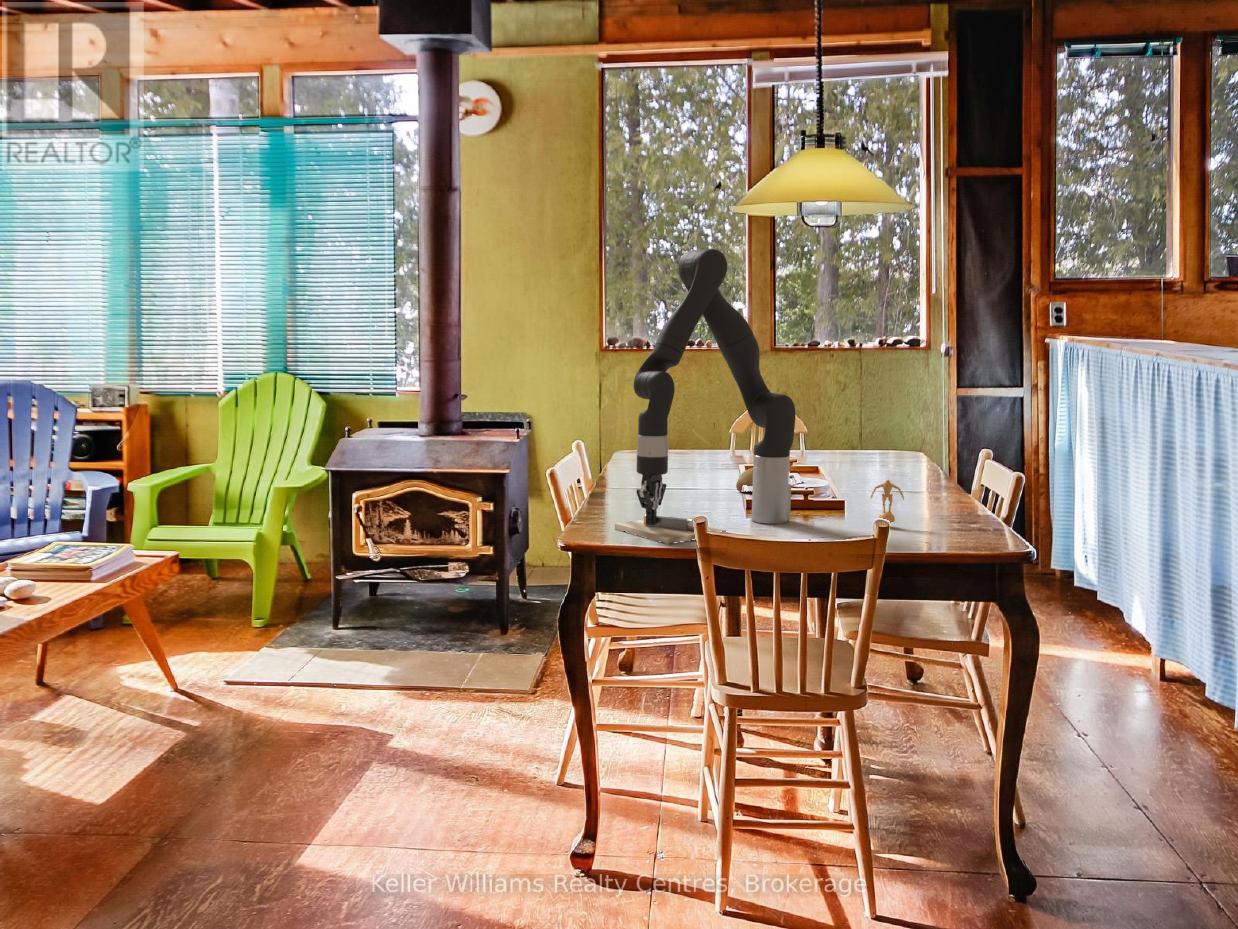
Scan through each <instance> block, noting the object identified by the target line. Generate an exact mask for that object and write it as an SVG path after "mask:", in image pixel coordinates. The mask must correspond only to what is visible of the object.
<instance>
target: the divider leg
mask: <svg viewBox="0 0 1238 929" xmlns="http://www.w3.org/2000/svg"><path fill="white" fill-rule="evenodd" d="M673 517H674V516H672V517H671V516H660V515H657V518H656V524H655V525H650V526H660V527H670V528H680V529H687V530H694V527H693V520H694V518H695V517H688V518H681V517H676V518H673ZM643 520H644V523H643V525H647V524H646V513H645V514H643Z"/></svg>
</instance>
